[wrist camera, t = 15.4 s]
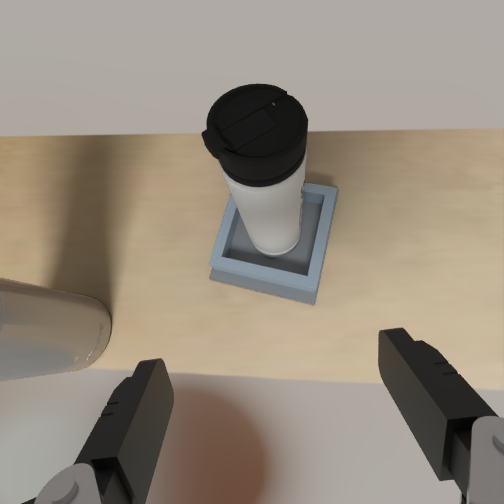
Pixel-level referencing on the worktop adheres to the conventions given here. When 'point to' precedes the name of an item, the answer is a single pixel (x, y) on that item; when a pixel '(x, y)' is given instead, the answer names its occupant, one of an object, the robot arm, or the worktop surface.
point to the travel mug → (262, 161)
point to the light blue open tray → (277, 268)
